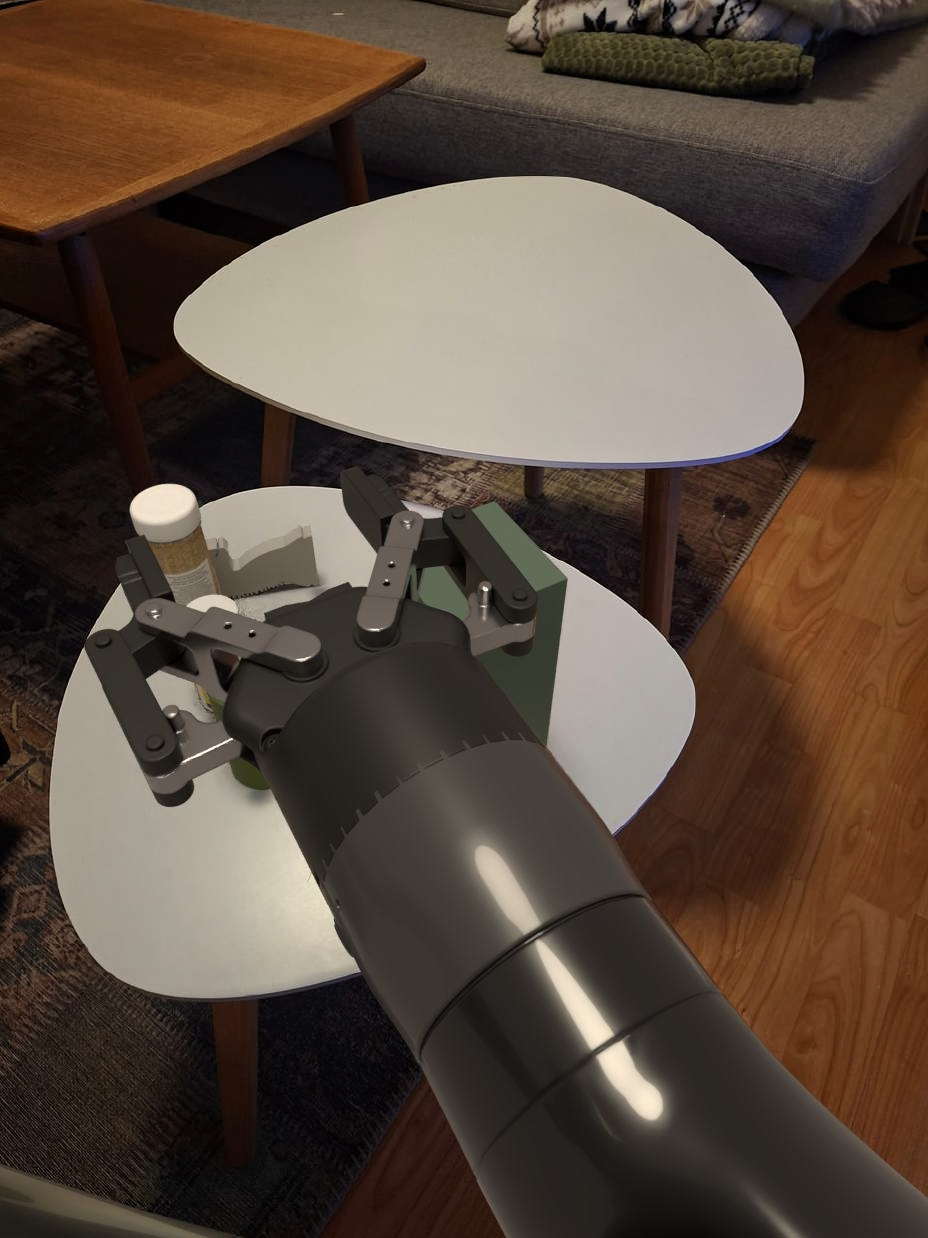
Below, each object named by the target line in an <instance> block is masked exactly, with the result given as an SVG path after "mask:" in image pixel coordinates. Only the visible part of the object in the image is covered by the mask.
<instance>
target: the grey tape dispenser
mask: <svg viewBox="0 0 928 1238" xmlns="http://www.w3.org/2000/svg"><path fill="white" fill-rule="evenodd" d="M205 540H206V544H207V548H208V551H209V554H210V558H211V562H212V565H213V567H214V569H215V573H216V577H217V580H218V584H219V587H220V591H221V595H222V596H226V597H228V598H230V599H231V597H232V598H233V599H241V598H242V597H244V598H246V597H249V596H250V595H251V596H254V594H259V591H260V592H261V593H263V592H265V591H268V590H269V589H271V588H273V589H274V588H276V587H279V585H280V586H284V585H292V584H295V585H299V586H303V587H306V588H309V587H310V586H314V587H318V586H320V584H319V577H318V576H319V575H318V569H317V562H316V555H315V554H316V553H315V547H314V540H313V534H312V528H311V524H309V525H305V526H301V525H297V526H296V527H295V528H293V529H292V530H290V531H288V532H287V533H285V534H283V535H281V536H277V537H274V538H270V539H268V540H266V541H263V542H261V543H258V544H257V545H254V546H253V547H251V548H250V549H248V550H247V551H245V552H244V553H243V554H242V555H240V556H239V557H238V558H235V559H233V558H232V557H231V555H230V554H229V544H228V540H226V538H225V537H223V536H219V537H218V538H217V537H210V538H205ZM231 600H232V599H231Z"/></svg>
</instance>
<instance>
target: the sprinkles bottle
mask: <svg viewBox="0 0 928 1238" xmlns="http://www.w3.org/2000/svg"><path fill="white" fill-rule="evenodd" d="M129 514H130V518H131V521H132V525H133V527H134V530H135V532H136V533H137V535H138V536H141V535H145V537H146V539H147V541H148V543H149V545H150V547H151V549H152V551H153V553H154V555H155V557H156V559H157V561H158V563H159V565H160V567H161V569H162V571H163V573H164V575H165V577H166V579H167V581H168V583H169V585H170V587H171V589H172V592H173V595H174V598H175V601H176V603H178V604H181V605H184V606H187V605H188V604H189V603H190V602H192V601H193V600H195V599H197V598H200V597H203V596H207V595H221V591H220V587H219V584H218V580H217V577H216V573H215V569H214V567H213V565H212V562H211V558H210V554H209V551H208V548H207V544H206V540H207V539H206V537H205V535H204V531H203V527H202V513H201V510H200V507H199V502H198V501H197V497H196V495H195V494H194V492H193V491H192V490H191V489H190V488H188V487H186V486H184V485H182V484H181V485H180V484H176V483H164V484H163V483H162V484H158V485H157V484H156V485H153V486H151V487H148V488H145V489H144V490H143V491H140V492H139V493H138V494H137V495H136V496H134V498H133V500H132V501H131V503H130V505H129ZM205 539H206V540H205Z"/></svg>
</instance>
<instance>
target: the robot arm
mask: <svg viewBox="0 0 928 1238" xmlns="http://www.w3.org/2000/svg"><path fill="white" fill-rule="evenodd" d="M339 478H340V479H339V480H340V487H341V496H342V501H343V502H342V504H343V507H344V510H345V512H346V514H347V516H348V517H349V519H350V520H351V521H352V522H353V524H354V525H355V526H356V528H357V530H358V531H359V532H360V534H361V535H362V536H363V537H364V539H365V540H366V541H367V543H368V544H369V546H370V547H371V548H372V549H373V551H374V552H375V553H376V558H375V561H374V564H373V567H372V571H371V574H370V577H369V581H368V584H367V586H365V585H364V586H352V584H351V583H350V581H346V582H344V583H341V584H339V585H336V586H333V587H330V588H328V589H326V590H325V591H323V592H322V593H320V594H318V595H316V596H315V597H313V598H311V599H310V600H307V601H301V602H296V603H290V604H284V605H282V606H279V607H275V608H274V609H272V610H269V611H265V612H264V613H263V616H264V620H263V621H260V620H257V619H254V618H251V617H248V616H245V615H242V614H240V615H239V614H236V613H233V612H230V611H227V610H224V609H221V608H218V607H210V608H209V609H208V610H207V611H206V612H201V611H198V610H196V609H193V608H190V607H187V606H184V605H181V604H178V603H176V601H175V598H174V595H173V592H172V589H171V587H170V585H169V583H168V581H167V579H166V577H165V575H164V573H163V571H162V569H161V567H160V565H159V563H158V561H157V559H156V557H155V555H154V553H153V551H152V549H151V547H150V545H149V543H148V541H147V539H146V537H145V535H141V536H139V535H138V536H135V537H132V538H129V539H125V540H124V541H125V544H126V547H127V549H128V552H129V553H127V554H123V555H120V556H118V557H116V560H115V564H114V569H115V572H116V575H117V578H118V580H119V582H120V585H121V587H122V591H123V593H124V595H125V598H126V601H127V603H128V605H129V607H130V610H131V612H132V617H131V619H130V621H129V622H128V623H127V624H126V625H125V626H123V627H122V628H120V629H114V628H103V629H99V630H96V631H95V632H93V633H92V634H90V635H89V636H88V637H87V638H86V640H85V641H84V644H83V647H84V651H85V653H86V655H87V657H88V659H89V662H90V664H91V666H92V668H93V670H94V672H95V674H96V677H97V679H98V681H99V683H100V685H101V688H102V691H103V693H104V695H105V697H106V699H107V701H108V704H109V705H110V708H111V710H112V712H113V714H114V716H115V718H116V721H117V722H118V724H119V727H120V729H121V731H122V733H123V735H124V736H125V739H126V741H127V744H128V745H129V747H130V750H131V751H132V753H133V755H134V757H135V759H136V762H137V763H138V766H139V768H140V769H141V772H142V774H143V776H144V778H145V781H146V783H147V785H148V787H149V789H150V791H151V793H152V795H153V796H154V797H153V798H154V799H155V801H156V802H157V804H158V805H160V806H162V807H166V808H175V807H179V806H182V805H184V804H185V803H186V802H188V800H190V799H191V797H192V796H193V794H194V791H195V783H194V780H195V779H196V778H198V777H201V776H203V775H204V774H207V773H209V772H211V771H213V770H215V769H217V768H219V767H221V766H223V765H225V764H227V763H229V761H232V760H234V759H236V758H240V759H241V760H243V761H244V762H246V763H248V764H250V765H252V766H253V767H255V768H256V769H257V770H258V771H259V772H260V773H261V774H262V775H263V776H264V778H265V779H266V781H267V783H268V785H269V787H270V788H269V789H270V792H271V794H272V795H273V797H274V800H275V801H276V804H277V806H278V808H279V810H280V812H281V813H282V816H283V818H284V820H285V822H286V824H287V826H288V828H289V830H290V832H291V834H292V836H293V838H294V840H295V842H296V844H297V846H298V848H299V850H300V852H301V854H302V856H303V858H304V860H305V862H306V864H307V866H308V869H309V871H310V872H311V874H312V877H313V879H314V880H315V883H316V885H317V886H318V888H319V891H320V893H321V895H322V897H323V899H324V901H325V902H326V905H327V906H328V909H329V911H330V912H331V914H332V917H333V928H334V930H335V932H336V935H337V937H338V939H339V941H340V943H341V944H342V946H343V948H344V949H345V951H346V953H347V954H348V955H349V956H350V957H351V958H353V960H354V962H355V963H356V965H357V967H358V969H359V971H360V973H361V976H363V979H364V981H365V982H366V984H367V986H368V988H369V990H370V992H371V993H372V995H373V996H374V998H375V999H376V1001H377V1002H378V1004H379V1005H380V1007H381V1009H382V1010H383V1011H384V1013H385V1014H386V1016H387V1017H388V1018H389V1020H390V1021H391V1023H392V1024H393V1026H394V1027H395V1028H396V1030H397V1031H398V1033H399V1034H400V1036H401V1037H402V1039H403V1040H404V1042H405V1043H406V1045H407V1047H408V1048H409V1051H410V1052H411V1054H412V1056H413V1058H414V1059H415V1061H416V1063H417V1064H418V1065H419V1067H420V1070H421V1071H422V1074H423V1075H424V1077H425V1079H426V1081H427V1083H428V1085H429V1087H430V1090H431V1091H432V1094H433V1095H434V1097H435V1099H436V1101H437V1104H438V1105H439V1107H440V1109H441V1111H442V1113H443V1115H444V1118H445V1119H446V1122H447V1123H448V1125H449V1128H450V1129H451V1131H452V1133H453V1135H454V1137H455V1139H456V1141H457V1143H458V1145H459V1147H460V1149H461V1151H462V1153H463V1155H464V1157H465V1159H466V1161H467V1163H468V1164H469V1168H470V1169H471V1171H472V1173H473V1175H474V1176H475V1178H476V1182H477V1184H478V1186H479V1188H480V1190H481V1192H482V1194H483V1196H484V1198H485V1200H486V1202H487V1204H488V1206H489V1207H490V1210H491V1212H492V1214H493V1215H494V1217H495V1219H496V1221H497V1223H498V1225H499V1227H500V1229H501V1230H502V1232H503V1234H504V1236H505V1238H928V1197H927V1196H926V1195H925V1193H923V1192H922V1191H920V1190H919V1189H918V1188H917V1187H915V1186H914V1185H913V1184H912V1183H911V1182H909V1181H908V1180H907V1179H906V1178H905V1177H903V1176H902V1175H901V1174H900V1173H899V1172H898V1171H896V1170H895V1169H894V1168H893V1167H892V1166H891V1165H889V1164H888V1162H886V1161H885V1160H884V1158H882V1157H881V1156H880V1155H879V1154H878V1153H876V1152H875V1151H874V1150H873V1149H872V1148H871V1147H870V1146H869V1145H868V1144H866V1143H865V1142H864V1141H863V1140H862V1139H861V1138H860V1137H859V1136H858V1135H856V1133H855V1132H853V1131H852V1130H851V1129H850V1128H849V1127H848V1126H847V1125H845V1123H843V1122H842V1121H841V1120H840V1119H839V1118H838V1117H837V1116H836V1115H835V1114H834V1113H833V1112H832V1111H831V1110H830V1109H829V1108H828V1107H827V1106H825V1105H824V1104H823V1103H822V1102H821V1101H820V1099H818V1098H817V1097H816V1096H815V1095H814V1094H813V1093H812V1092H811V1091H810V1090H809V1089H808V1088H807V1087H806V1086H805V1085H804V1084H803V1083H802V1082H801V1081H800V1080H799V1079H798V1078H797V1077H796V1076H795V1075H794V1074H793V1073H791V1071H790V1070H789V1069H788V1068H787V1067H785V1065H784V1064H783V1063H782V1061H781V1060H779V1059H778V1057H777V1056H776V1055H775V1054H774V1053H773V1052H772V1051H771V1050H770V1049H769V1048H768V1046H767V1045H766V1044H765V1043H764V1042H763V1040H762V1039H761V1038H760V1037H759V1036H758V1034H757V1033H756V1032H755V1030H754V1029H752V1027H751V1026H750V1025H749V1024H748V1023H747V1021H746V1020H745V1018H744V1017H743V1015H741V1013H740V1012H739V1010H737V1008H736V1007H735V1006H734V1005H733V1003H732V1002H731V1001H730V999H729V998H728V997H727V995H726V994H724V993H723V991H722V989H721V987H720V986H719V985H718V984H717V982H716V981H715V979H714V978H713V977H712V976H711V975H710V973H709V972H708V970H707V969H706V968H705V967H704V965H703V964H702V963H701V961H700V960H699V959H698V957H697V956H696V954H695V953H694V952H693V951H692V950H691V948H690V947H689V945H688V944H687V943H686V941H685V940H684V939H683V937H682V936H681V935H680V934H679V932H678V931H677V930H676V928H675V927H674V926H673V925H672V923H671V922H670V920H669V919H668V918H667V917H666V915H665V914H664V913H663V911H662V910H661V908H659V906H658V905H657V904H656V902H654V901H653V900H652V897H651V896H650V894H648V892H647V890H646V889H645V887H644V886H643V885H642V883H641V882H640V880H639V879H638V876H637V875H636V873H635V872H634V870H633V868H632V867H631V865H630V863H629V861H628V859H627V858H626V856H625V854H624V852H623V850H622V849H621V847H620V845H619V843H618V842H617V840H616V839H615V837H614V835H613V833H612V832H611V830H610V829H609V827H608V826H607V824H606V823H605V821H604V820H603V818H602V817H601V815H600V814H599V813H598V812H597V810H596V808H595V807H594V806H593V805H592V803H591V802H590V801H589V800H588V798H587V797H586V796H585V794H584V793H583V792H582V791H581V790H580V787H578V786H577V784H576V783H575V781H574V780H573V779H572V778H571V777H570V776H569V774H568V773H567V771H566V770H565V769H564V768H563V766H562V765H561V763H559V761H558V760H557V759H556V757H555V756H554V755H553V753H552V751H551V750H550V749H549V748H548V746H547V747H546V745H545V744H544V743H543V742H542V740H541V739H540V738H539V736H538V735H537V734H536V733H535V731H534V730H533V729H532V727H531V726H530V725H529V724H528V722H527V721H526V720H525V719H524V717H523V716H522V715H521V713H520V712H519V711H518V709H517V708H516V707H515V706H514V704H513V703H512V702H511V700H510V699H509V698H508V696H507V695H506V694H505V693H504V691H503V690H502V689H501V687H500V686H499V685H498V684H497V682H496V681H495V680H494V678H493V677H492V676H491V674H490V673H489V672H488V671H487V669H486V668H485V667H484V665H483V664H482V663H481V662H480V661H479V660H478V659H477V658H476V657H475V656H477V655H480V654H482V653H485V652H488V651H491V650H493V649H496V648H499V647H500V648H501V649H502V650H503V652H505V653H506V654H508V655H510V656H515V657H520V656H524V655H527V654H528V653H530V652H531V650H532V649H533V643H534V632H535V622H536V612H537V601H538V595H537V592H536V591H535V590H534V588H533V587H532V586H531V585H530V583H529V582H528V581H527V579H526V578H525V577H524V576H523V574H522V573H521V572H520V571H519V569H518V568H517V567H516V565H515V564H514V563H513V562H512V560H511V559H510V558H509V557H508V555H507V554H506V553H505V551H504V550H503V549H502V548H501V546H500V545H499V544H498V543H497V541H496V540H495V539H494V537H493V536H492V535H491V534H490V532H489V531H488V530H487V529H486V527H485V526H484V525H483V523H482V522H481V521H480V520H479V518H478V517H477V516H476V515H475V513H474V512H473V511H472V510H471V508H470V507H469V506H465V505H462V504H461V505H460V504H457V505H451V506H448V507H447V508H445V509H443V511H442V514H441V516H439V517H432V518H431V517H430V518H429V517H427V518H425V517H423V515H422V514H420V513H419V512H418V511H414V510H410V509H409V508H408V507H407V506H406V504H404V502H403V500H401V499H400V497H398V495H397V494H396V493H395V491H394V490H393V489H392V488H391V487H390V485H389V484H388V483H387V482H386V481H385V479H384V478H382V477H380V476H378V475H377V474H374V473H372V474H368V475H366V474H365V473H364V471H363V470H362V469H361V467H360V466H358V465H357V466H354V467H351V468H348V469H347V468H346V469H344V470H341V471H340V472H339ZM439 566H444V568H445V569H446V571H447V572H448V574H449V575H450V577H451V578H452V579H453V581H454V582H455V584H456V585H457V587H458V588H459V589H460V591H461V592H462V594H463V595H464V597H465V598H466V599H467V601H468V617H467V618H466V619H465V620H464V621H462V620H461V619H460V618H458V617H457V616H455V615H453V614H452V613H449V612H446V611H443V610H440V609H437V608H434V607H431V606H428V605H425V604H422V603H419V602H418V598H419V594H420V589H421V585H422V581H423V577H424V572H425V568H430V567H439ZM238 656H239V657H241V660H240V661H239V659H238ZM159 671H160V672H163V673H165V674H168V675H171V676H174V677H176V678H179V679H182V680H184V681H188V682H190V683H193V684H194V683H196V684H198V685H200V686H201V687H202V688H203V689H204V690H205V691H206V692H207V693H208V694H209V695H210V696H211V697H213V698H215V699H217V700H220V701H223V702H225V703H224V705H223V709H222V720H220V721H217V722H216V721H213V722H205V721H201V720H199V719H198V718H197V717H196V716H195V715H194V713H192V712H191V711H188V710H185V709H180V707H179V706H178V705H175V704H170V705H169V704H168V705H166V706H165V707H163V709H162V707H161V705H160V704H159V702H158V700H157V698H156V696H155V694H154V692H153V690H152V688H151V687H150V685H149V683H148V681H147V680H148V679H149V678H150V677H151V676H153V675H155V674H157V672H159ZM0 1238H245V1237H244V1236H239V1235H236V1234H232V1233H228V1232H224V1231H220V1230H217V1229H214V1228H211V1227H210V1228H209V1227H205V1226H202V1225H199V1224H195V1223H191V1222H188V1221H187V1222H186V1221H184V1220H179V1219H175V1218H173V1217H172V1218H171V1217H168V1216H166V1215H161V1214H157V1213H153V1212H149V1211H146V1210H142V1209H140V1208H136V1207H133V1206H130V1205H126V1204H124V1203H120V1202H117V1201H114V1200H111V1199H108V1198H106V1197H103V1196H99V1195H96V1194H94V1193H90V1192H87V1191H84V1190H81V1189H78V1188H75V1187H72V1186H69V1185H67V1184H63V1183H60V1182H57V1181H54V1180H51V1179H49V1178H45V1177H42V1176H39V1175H36V1174H32V1173H29V1172H27V1171H24V1170H21V1169H17V1168H15V1167H11V1166H9V1165H6V1164H3V1163H0Z"/></svg>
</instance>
